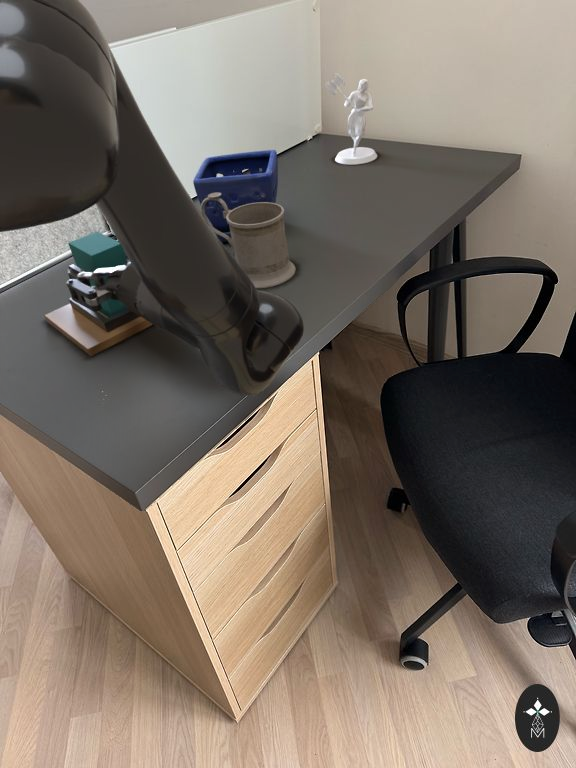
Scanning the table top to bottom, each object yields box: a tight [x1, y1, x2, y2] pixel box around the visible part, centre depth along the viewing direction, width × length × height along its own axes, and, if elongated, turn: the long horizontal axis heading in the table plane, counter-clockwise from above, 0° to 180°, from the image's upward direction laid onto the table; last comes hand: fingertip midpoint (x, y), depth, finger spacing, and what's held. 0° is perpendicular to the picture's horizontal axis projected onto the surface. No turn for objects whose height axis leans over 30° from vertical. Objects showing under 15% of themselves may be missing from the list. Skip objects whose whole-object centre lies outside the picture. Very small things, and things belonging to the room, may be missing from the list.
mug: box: [200, 192, 297, 289], centre depth 86 cm, size 14×10×12 cm
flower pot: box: [192, 149, 279, 243], centre depth 99 cm, size 13×13×12 cm
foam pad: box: [68, 231, 128, 317], centre depth 80 cm, size 4×7×10 cm, turn 43°
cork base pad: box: [43, 297, 154, 357], centre depth 83 cm, size 16×14×3 cm
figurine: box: [324, 72, 378, 166], centre depth 123 cm, size 10×10×18 cm
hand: (101, 259), depth 77 cm, fingers open, 8 cm apart
